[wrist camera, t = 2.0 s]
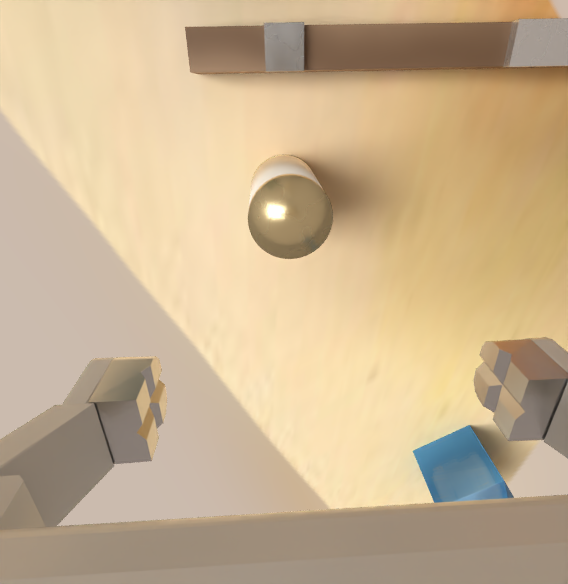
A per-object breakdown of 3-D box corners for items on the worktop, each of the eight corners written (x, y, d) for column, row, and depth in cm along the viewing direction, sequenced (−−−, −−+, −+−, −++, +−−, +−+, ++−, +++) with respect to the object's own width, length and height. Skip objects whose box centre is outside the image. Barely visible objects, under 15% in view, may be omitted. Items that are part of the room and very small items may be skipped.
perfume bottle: (469, 424, 39) (548, 552, 28) (489, 459, 41) (569, 588, 30) (412, 450, 40) (467, 582, 29) (435, 482, 42) (494, 614, 32)
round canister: (249, 155, 26) (245, 177, 19) (317, 153, 26) (334, 174, 20) (253, 221, 28) (250, 260, 22) (315, 219, 28) (331, 257, 22)
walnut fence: (194, 33, 22) (182, 24, 19) (630, 26, 23) (689, 16, 20) (198, 74, 23) (188, 72, 20) (617, 66, 24) (671, 63, 21)
